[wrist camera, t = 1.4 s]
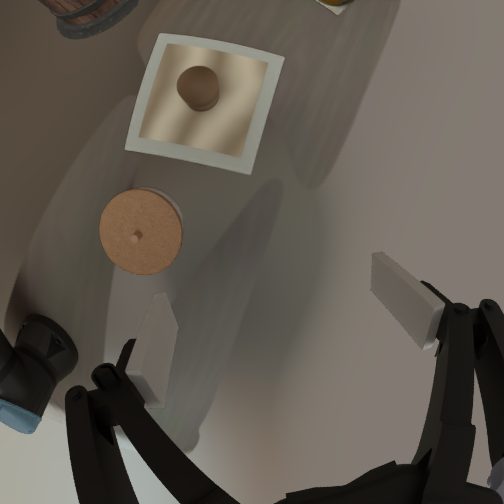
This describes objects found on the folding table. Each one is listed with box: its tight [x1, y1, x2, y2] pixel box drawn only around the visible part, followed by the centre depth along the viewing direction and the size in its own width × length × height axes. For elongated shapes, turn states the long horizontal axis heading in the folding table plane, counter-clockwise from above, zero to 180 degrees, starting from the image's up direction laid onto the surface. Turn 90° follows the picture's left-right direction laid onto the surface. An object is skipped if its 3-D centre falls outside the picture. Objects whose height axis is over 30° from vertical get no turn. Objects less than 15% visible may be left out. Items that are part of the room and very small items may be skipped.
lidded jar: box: [99, 187, 184, 275], centre depth 33 cm, size 11×11×9 cm
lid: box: [139, 43, 268, 158], centre depth 28 cm, size 14×14×8 cm
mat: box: [125, 33, 285, 175], centre depth 32 cm, size 18×18×1 cm
